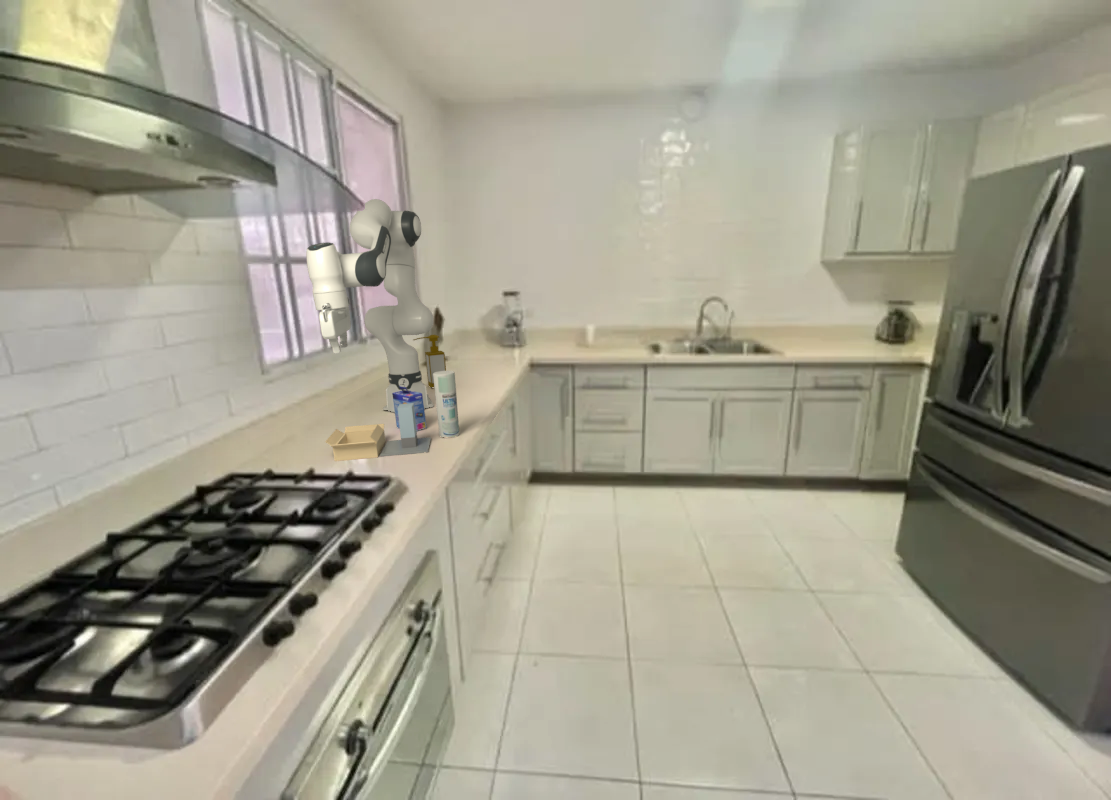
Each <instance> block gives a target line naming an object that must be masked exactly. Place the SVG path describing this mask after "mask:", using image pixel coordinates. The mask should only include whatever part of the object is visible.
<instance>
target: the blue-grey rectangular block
mask: <svg viewBox="0 0 1111 800" xmlns="http://www.w3.org/2000/svg"><path fill="white" fill-rule="evenodd" d="M397 409H398V417H399V426H400V428H399V433H400V440H401V444H402V448H411V447H416V446H417V443H418V440H417V438H418V431H416V421H415V412H414V403H408V404H399V406H398V408H397Z"/></svg>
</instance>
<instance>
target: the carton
mask: <svg viewBox="0 0 1111 800" xmlns="http://www.w3.org/2000/svg"><path fill="white" fill-rule="evenodd" d="M344 429H345V430H344V432H343V431H341V430H339V429H337V428H336V429H334V431H333V432H332V433H331V434H330V436H329V437H328V438H327V439H326V440H325V441H324V443H326V444H328V446H330V447H332V452H333V459H334V462H337V461H338V462H340V461H350V460H351V461H352V460H353V461H354V460H362V459H374V458H378V457H379V456H380V454H381V452H382V450H383V448H384V447H385V445H386V435H385V423H378V424H377V423H376V424H365V425H364V424H363V425H351V426H345V427H344Z"/></svg>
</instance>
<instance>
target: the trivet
mask: <svg viewBox="0 0 1111 800" xmlns="http://www.w3.org/2000/svg"><path fill="white" fill-rule="evenodd" d="M417 440H418V443H417V446H416V447H411V448H402V444H401V439H393V440H387V441H386V442H385V444H384V446H383V448H382V450H381V452H380V454H379V456H380V457H389V456H401V455H410V454H411V455H412V454H425V453H424V452H426V453H429V450H428V449H429V448H430V446H429V445H431V442H430V441H432V437H431V436H429V437H420V438H419V437H417Z"/></svg>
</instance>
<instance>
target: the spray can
mask: <svg viewBox="0 0 1111 800" xmlns="http://www.w3.org/2000/svg"><path fill="white" fill-rule="evenodd" d="M433 378H434V388H433V389H434V395H435V407H436V415H437V426H438V435H439V437H440V436H441V437H453V438H456V437H455V436H457V437H458V435H459V436H460V424H459V421H460V420H459V412H458V399H457V398H458V396H457V387H456V374H455V371H454V370H446V371H439V372H435V373H433ZM441 437H440V438H441Z"/></svg>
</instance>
